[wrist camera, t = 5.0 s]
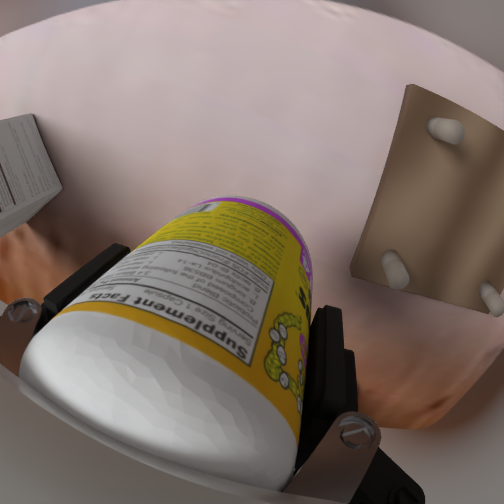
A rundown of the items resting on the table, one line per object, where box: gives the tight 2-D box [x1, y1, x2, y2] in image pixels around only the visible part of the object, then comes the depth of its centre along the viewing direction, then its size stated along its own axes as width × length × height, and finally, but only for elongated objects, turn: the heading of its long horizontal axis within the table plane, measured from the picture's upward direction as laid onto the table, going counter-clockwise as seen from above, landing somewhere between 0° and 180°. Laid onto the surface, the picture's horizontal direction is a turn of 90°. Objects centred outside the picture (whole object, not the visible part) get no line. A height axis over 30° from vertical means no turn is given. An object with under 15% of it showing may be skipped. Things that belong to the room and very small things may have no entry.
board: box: [350, 84, 504, 317], centre depth 17 cm, size 14×14×4 cm
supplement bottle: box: [19, 196, 313, 492], centre depth 8 cm, size 7×7×13 cm
